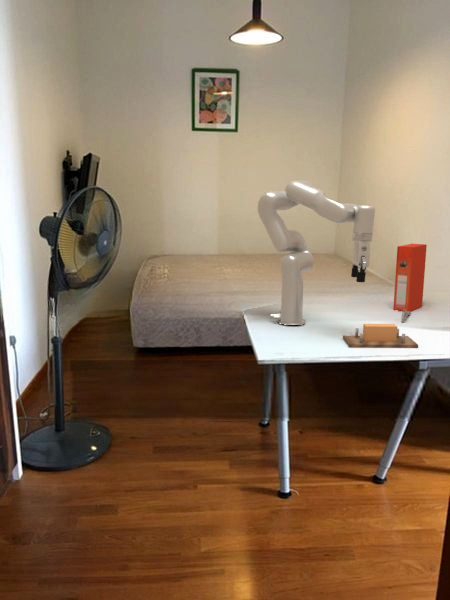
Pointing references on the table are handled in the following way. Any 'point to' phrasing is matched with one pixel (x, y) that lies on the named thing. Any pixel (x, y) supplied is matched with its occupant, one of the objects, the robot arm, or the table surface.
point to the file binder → (409, 277)
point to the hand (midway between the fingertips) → (357, 279)
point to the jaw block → (380, 332)
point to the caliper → (404, 315)
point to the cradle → (360, 343)
